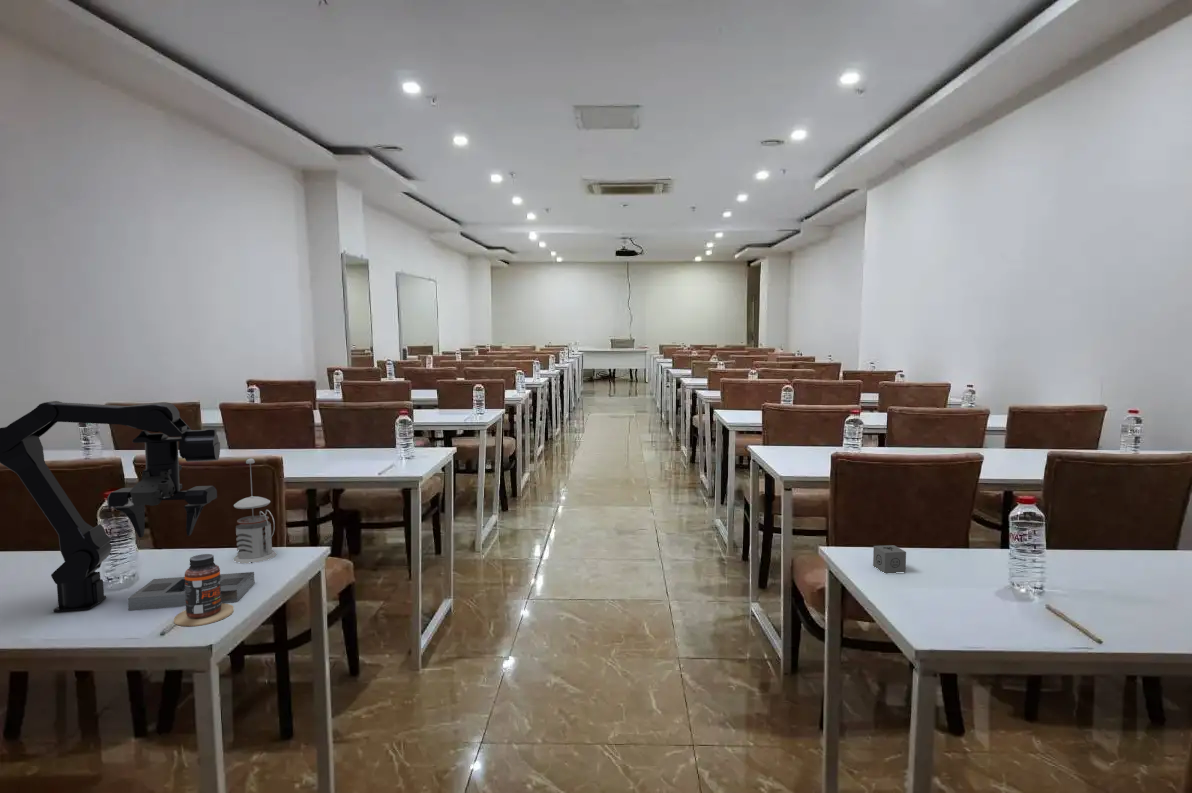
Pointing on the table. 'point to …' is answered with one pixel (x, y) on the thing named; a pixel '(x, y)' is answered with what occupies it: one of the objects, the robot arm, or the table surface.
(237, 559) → the french press
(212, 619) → the cork coaster
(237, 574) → the grey compartment tray
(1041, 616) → the table surface
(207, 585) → the supplement bottle
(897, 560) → the dice cube
